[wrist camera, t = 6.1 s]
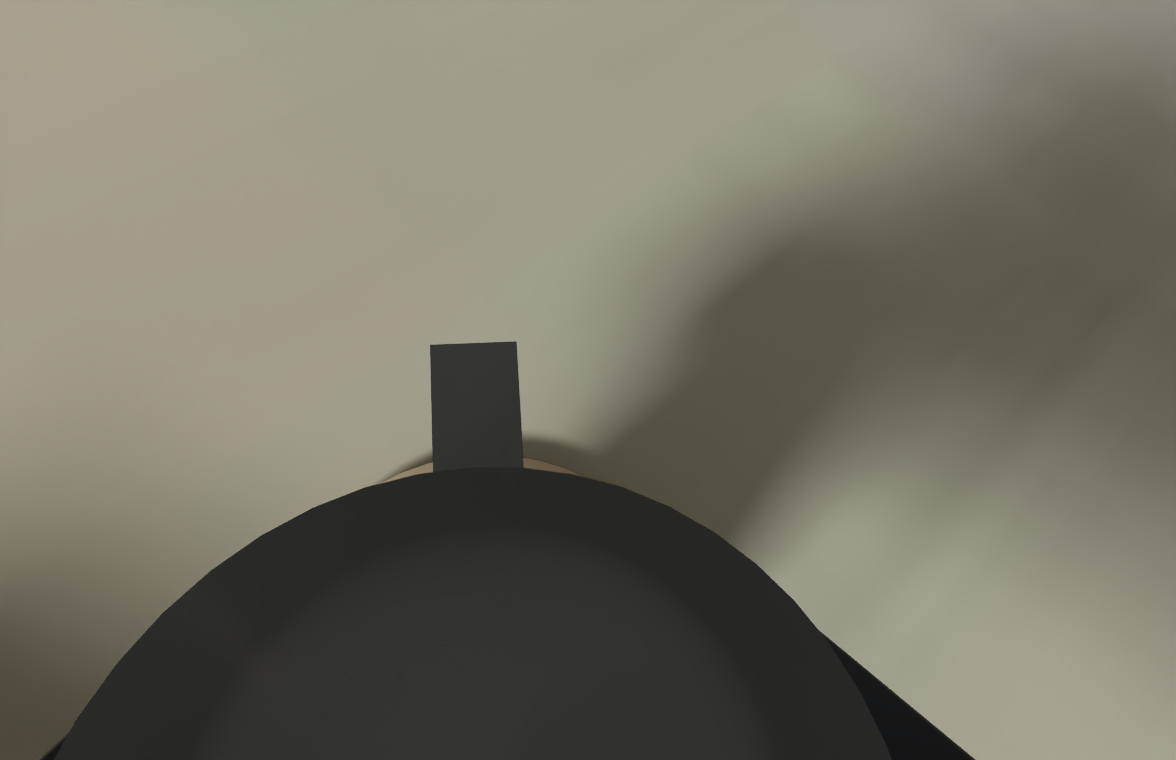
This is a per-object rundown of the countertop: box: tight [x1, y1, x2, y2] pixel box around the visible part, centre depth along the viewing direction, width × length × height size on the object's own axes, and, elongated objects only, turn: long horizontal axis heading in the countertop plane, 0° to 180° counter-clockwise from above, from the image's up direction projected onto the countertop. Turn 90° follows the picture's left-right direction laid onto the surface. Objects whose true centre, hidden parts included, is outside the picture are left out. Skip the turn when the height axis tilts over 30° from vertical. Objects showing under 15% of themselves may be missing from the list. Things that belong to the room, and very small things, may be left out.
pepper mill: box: [54, 342, 892, 760], centre depth 9 cm, size 8×6×12 cm
